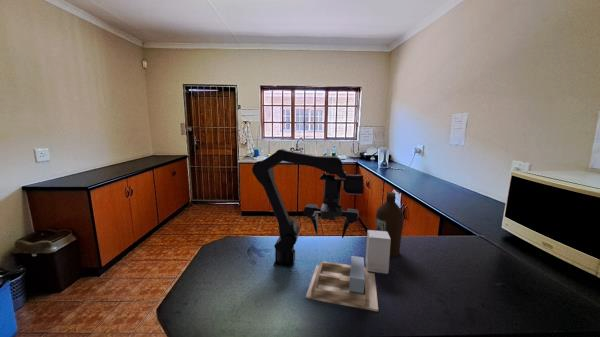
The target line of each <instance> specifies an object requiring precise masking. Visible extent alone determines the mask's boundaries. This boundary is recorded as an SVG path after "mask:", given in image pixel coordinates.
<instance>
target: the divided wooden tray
mask: <svg viewBox="0 0 600 337" xmlns="http://www.w3.org/2000/svg"><path fill="white" fill-rule="evenodd" d="M350 270H351V264H345V263H337V262H331V261H324V260H323V261H322V260H320V263H319V265H318V264H316V266H315V269H314V272H313V275H312V277H311V280H310V283H309V286H308V289H307V292H306V294H305V299H309V300H315V301H320V302H324V303H329V304H335V305H341V306H347V307H352V308H356V309H360V310H361V309H362V310H368V311H373V312H379V303H378V295H377V294H378V293H377V284H376V276H375V272H369V271H367V268H366V266H364V279H365V280H364V295H362V294H356V293H350V292H349V285H350Z"/></svg>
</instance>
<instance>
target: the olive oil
mask: <svg viewBox="0 0 600 337" xmlns="http://www.w3.org/2000/svg"><path fill="white" fill-rule="evenodd" d="M396 194H397V193H396V192H394V191H387V192H386V198H385V199H386V200H385V202H383V204H381V205H380V206H379V207H378V208H377V210H376V213H375V231H386V232H388V234H389V236H390V239H391V243H390V257H389V258H396V257H398V256H399V255H400V252H401V244H402V243H401V242H402V234H403V228H404V221H405V216H404V211H403V210H402V209H401V207H400V206H399V205H398V204H397V203H396V198H397V197H396Z"/></svg>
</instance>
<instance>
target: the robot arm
mask: <svg viewBox="0 0 600 337" xmlns="http://www.w3.org/2000/svg"><path fill="white" fill-rule="evenodd" d="M282 162H286V163H291V164H292V163H293V164H297V165H302V166H307V167H313V168H316V169H318V170H320V171H322V174H321V175H319V177H318V179H319V180H321V181H322V180H323V181H324V183H323V184H324V185H323V199H322V200H323V201H322V203H321V207H318V204H316V203H307V204H306V205H305V206H304V208H303V213H302V214H303V216H306V217H307V218H308V219H310V220H311V222H312V225H313V228H314V231H315V234H316V235H318V233H319V214H320V218H321V219H322V220H330V221H335V220H336V218H337V217H345V220H344V224H343V229H342V234H341V238H342V239H343V238H344V237H345V233H347V230H348V228H349V226H350V225H352V224H354V223H357V222H359V214H360V213H359V212H360V211H359V210H358V209H357V208H350V207H349V208H347V209H346V210H343V205H341V191H343V192H344V193H345V195H359V196H363V195H364V189H365V186H364V185H365V184H364V175H363V174H347V172H346V171H347V170H346V171H345V169H344V168H343V162H342V159H341V158H340V157H339V156H335V155H312V154H308V153H303V152H297V151H291V150H286V149H285V148H280V149H278V150H276V151H275V152H273V154H271V155H269V156H268V157H267V158H265V159H263V160H258V161H256V162H254V163H253V165H252V167H251V171H252V174H253V176H254V178H255V179H256V180H257V182H258V183H259V184H260V185H261V186H262V187H263V189H264V192H265V195H266V197H267V199H268V201H269V204H270V206H271V208H272V211H273V213H274V215H275V218H276V220H277V223H278V232H279V233H278V234H279V236H278V238H277V240H276V242H275V244H274V246H273V247H274V250H275V253H274V254H275V256H274V257H275V258H274V260H275V261H274V262H273V266H278V267H285V268H291V267H292V266H293V265H294V263H295V261H296V250H295V244H296V243H297V241H298V238H299V236H300V230H301V228H300V227H299V225H298V221H297V219H296V218H295V219H294V220H293V219H292V218H291V217H290V215H289V213H288V211H287V208H286V205H285V204H284V202H283V198H282V195H281V193H280V191H279V188H278V186H277V184H276V179H275V171H274V168H275V167H277V166H278V165H279V164H280V163H282ZM335 176H337V177H335ZM341 188H342V189H341Z"/></svg>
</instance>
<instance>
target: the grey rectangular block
mask: <svg viewBox="0 0 600 337" xmlns="http://www.w3.org/2000/svg"><path fill="white" fill-rule="evenodd" d="M350 265H351V270H350V285H349V292H350V293H356V294H362V295H364V280H365V279H364V267H365V258H364V257H363V256H362V257H361V256H356V255H351V259H350Z"/></svg>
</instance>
